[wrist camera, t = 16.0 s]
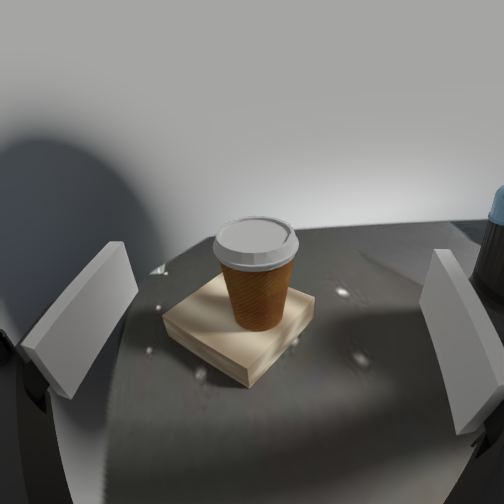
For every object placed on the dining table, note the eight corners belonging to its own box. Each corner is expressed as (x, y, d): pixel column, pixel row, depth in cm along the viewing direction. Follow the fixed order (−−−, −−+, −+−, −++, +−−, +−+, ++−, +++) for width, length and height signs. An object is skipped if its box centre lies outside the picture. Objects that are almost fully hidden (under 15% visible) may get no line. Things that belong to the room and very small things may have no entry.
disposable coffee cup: (255, 353, 35) (250, 267, 28) (208, 313, 41) (195, 233, 35) (310, 314, 40) (317, 232, 34) (261, 283, 46) (258, 208, 40)
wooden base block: (235, 284, 53) (232, 265, 51) (312, 318, 45) (314, 297, 43) (168, 335, 43) (161, 315, 41) (249, 388, 35) (247, 368, 33)
